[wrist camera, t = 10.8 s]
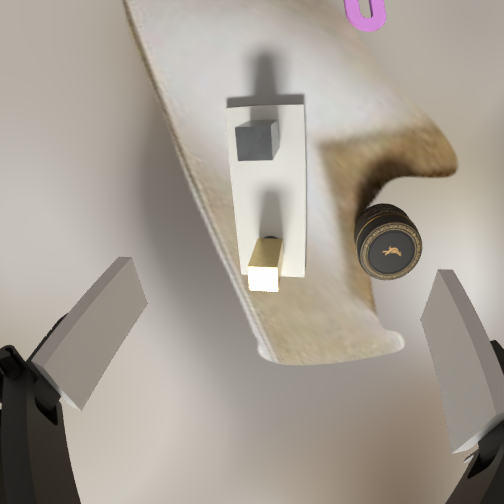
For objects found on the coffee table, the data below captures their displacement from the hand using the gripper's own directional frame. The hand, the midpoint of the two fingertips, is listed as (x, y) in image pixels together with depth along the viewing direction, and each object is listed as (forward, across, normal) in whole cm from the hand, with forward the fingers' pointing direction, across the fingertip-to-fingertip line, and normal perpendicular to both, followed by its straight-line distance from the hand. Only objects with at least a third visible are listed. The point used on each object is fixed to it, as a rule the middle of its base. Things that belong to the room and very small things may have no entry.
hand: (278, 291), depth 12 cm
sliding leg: (+31, -5, -16) cm, 35 cm away
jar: (+33, +13, -13) cm, 38 cm away
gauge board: (+33, -5, -8) cm, 34 cm away
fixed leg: (+31, -5, +2) cm, 32 cm away
